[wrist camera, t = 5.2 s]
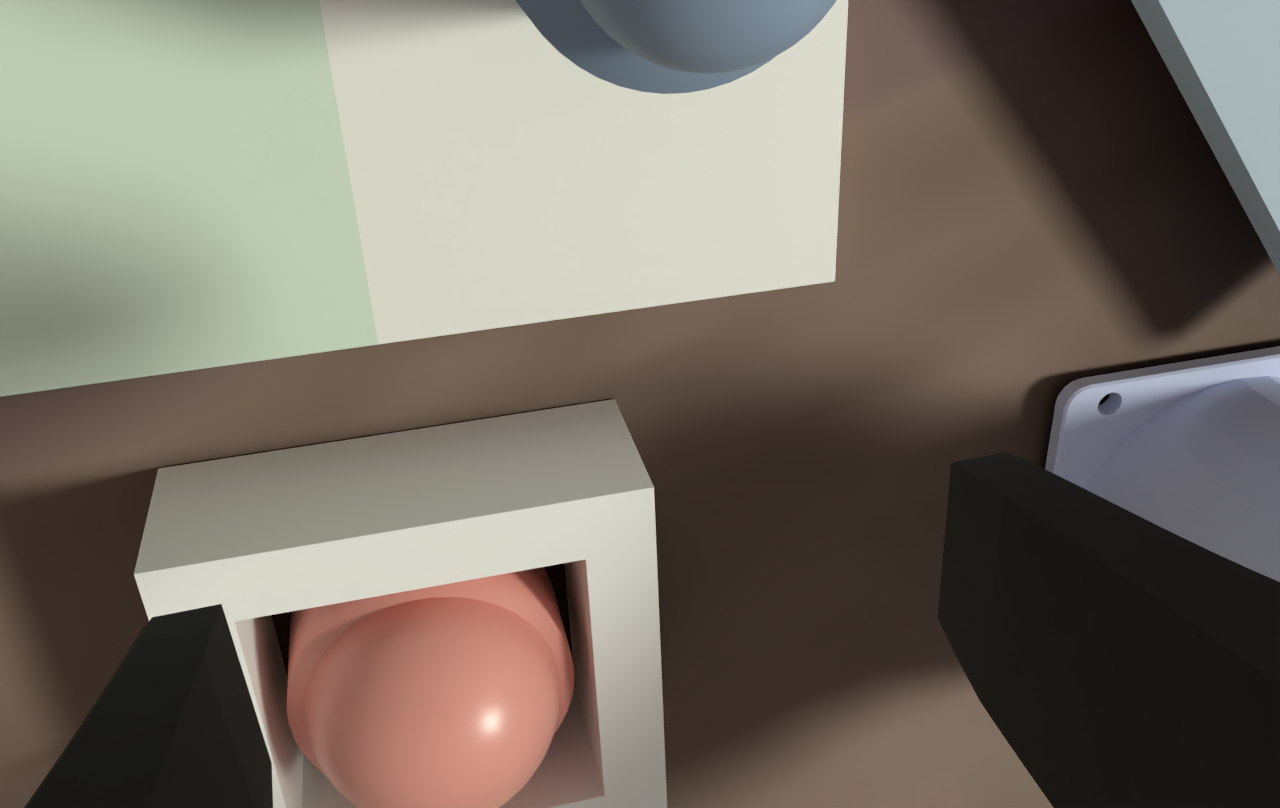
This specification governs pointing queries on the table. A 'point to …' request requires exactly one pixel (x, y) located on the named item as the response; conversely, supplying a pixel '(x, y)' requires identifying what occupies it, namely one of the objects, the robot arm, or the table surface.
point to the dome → (431, 691)
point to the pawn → (673, 37)
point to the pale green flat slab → (374, 181)
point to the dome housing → (435, 570)
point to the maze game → (1230, 92)
